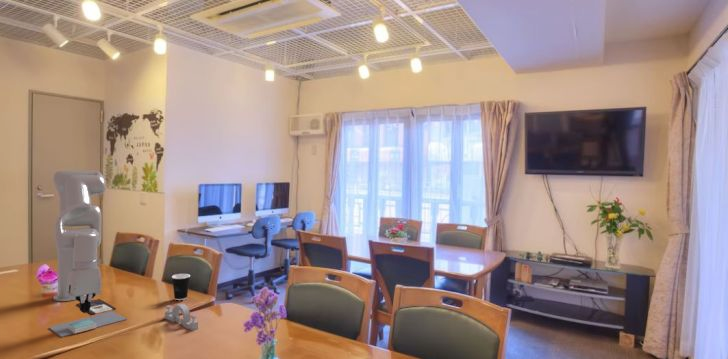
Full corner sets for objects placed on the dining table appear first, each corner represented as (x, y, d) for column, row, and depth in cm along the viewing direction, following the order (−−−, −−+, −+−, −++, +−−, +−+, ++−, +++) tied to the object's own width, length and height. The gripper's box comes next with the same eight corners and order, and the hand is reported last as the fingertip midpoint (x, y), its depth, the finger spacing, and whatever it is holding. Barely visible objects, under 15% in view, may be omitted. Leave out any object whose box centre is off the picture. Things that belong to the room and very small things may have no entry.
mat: (48, 328, 153) (48, 327, 153) (112, 312, 171) (112, 311, 171) (61, 337, 146) (61, 336, 146) (126, 319, 163) (126, 318, 163)
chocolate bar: (99, 298, 186) (115, 308, 174) (99, 300, 186) (115, 310, 175) (76, 303, 178) (91, 313, 167) (76, 305, 178) (91, 316, 167)
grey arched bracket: (164, 319, 166) (165, 300, 166) (170, 317, 168) (170, 298, 168) (192, 332, 155) (192, 311, 154) (198, 330, 157) (198, 309, 156)
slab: (68, 329, 152) (74, 333, 148) (68, 324, 152) (74, 328, 148) (90, 323, 157) (96, 327, 154) (90, 319, 157) (96, 323, 154)
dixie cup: (171, 302, 184) (171, 278, 184) (171, 297, 192) (172, 274, 191) (190, 301, 187) (190, 277, 187) (190, 295, 195) (190, 273, 194)
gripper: (103, 259, 164) (102, 304, 165) (58, 266, 152) (58, 314, 153) (110, 263, 159) (110, 309, 160) (65, 270, 148) (65, 320, 148)
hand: (85, 311), depth 157 cm, fingers closed
